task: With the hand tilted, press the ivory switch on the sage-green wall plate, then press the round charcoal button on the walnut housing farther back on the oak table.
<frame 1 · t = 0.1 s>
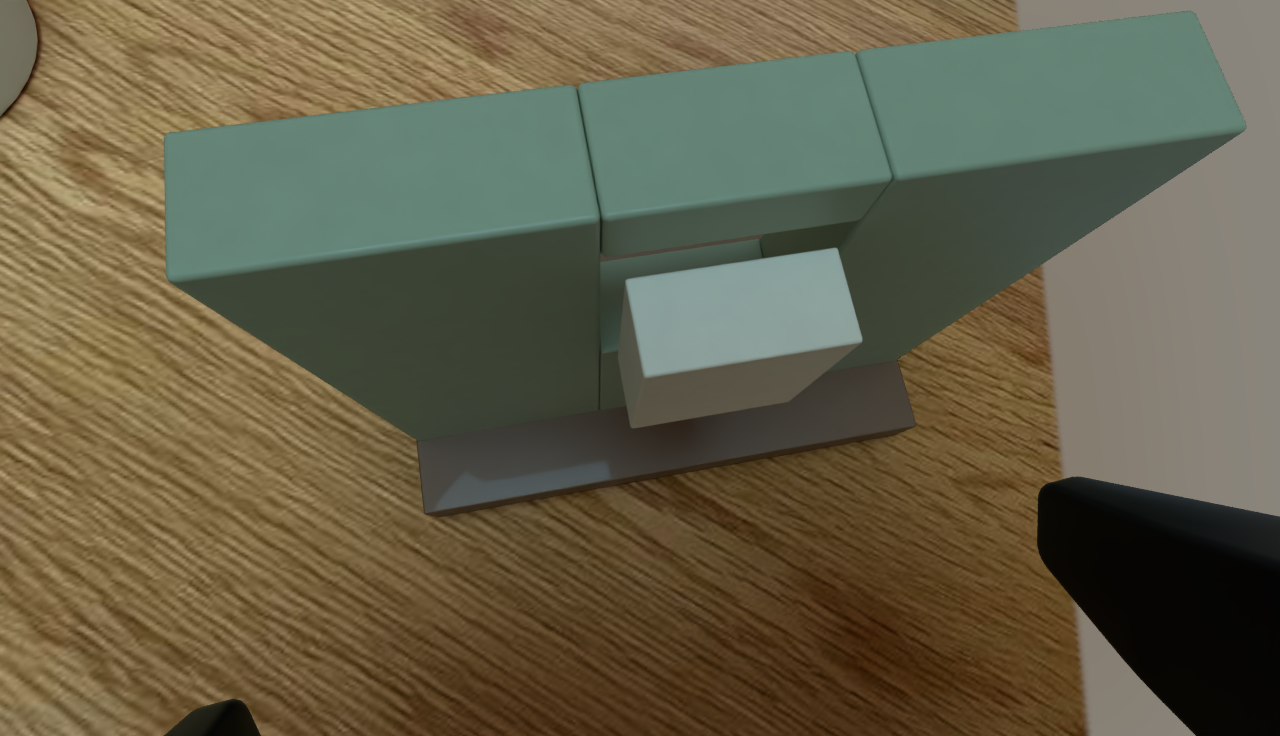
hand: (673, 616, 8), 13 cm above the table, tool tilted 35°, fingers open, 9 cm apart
switch: (720, 349, 12), point 9 cm above the table, slide at -0.2 cm
wall plate: (661, 409, 21), on the table
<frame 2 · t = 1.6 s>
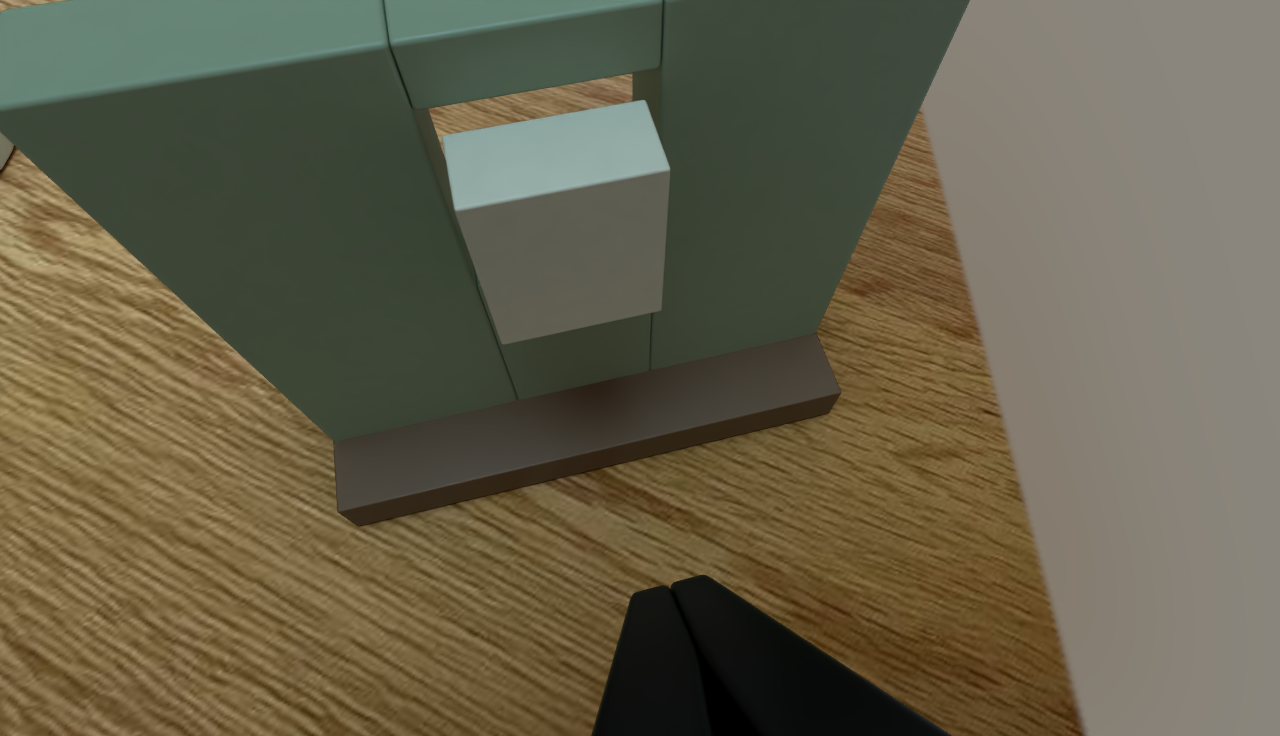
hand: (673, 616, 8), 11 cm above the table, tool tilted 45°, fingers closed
switch: (566, 234, 12), point 10 cm above the table, slide at -0.2 cm
wall plate: (588, 406, 21), on the table
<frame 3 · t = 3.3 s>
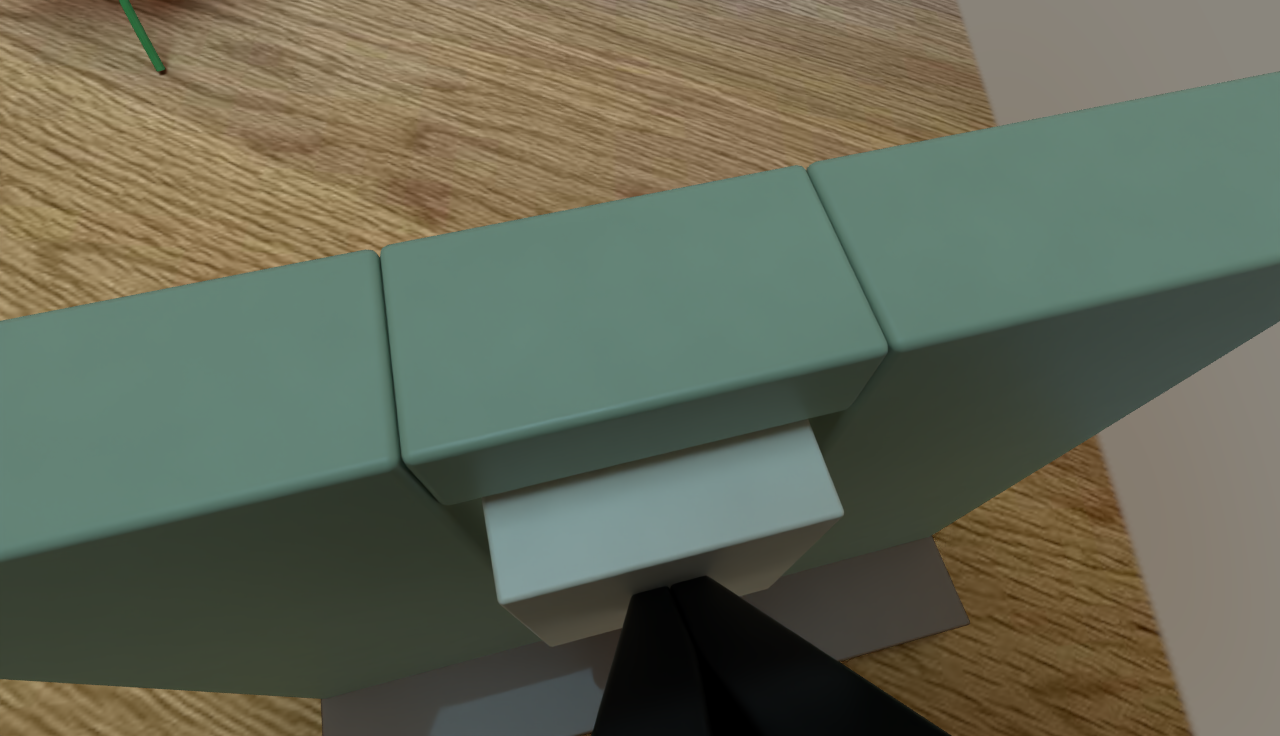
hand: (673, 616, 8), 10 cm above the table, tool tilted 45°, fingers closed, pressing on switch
switch: (651, 531, 8), point 10 cm above the table, slide at 0.7 cm, touching gripper
lily: (170, 3, 27), on the table
wall plate: (642, 622, 17), on the table
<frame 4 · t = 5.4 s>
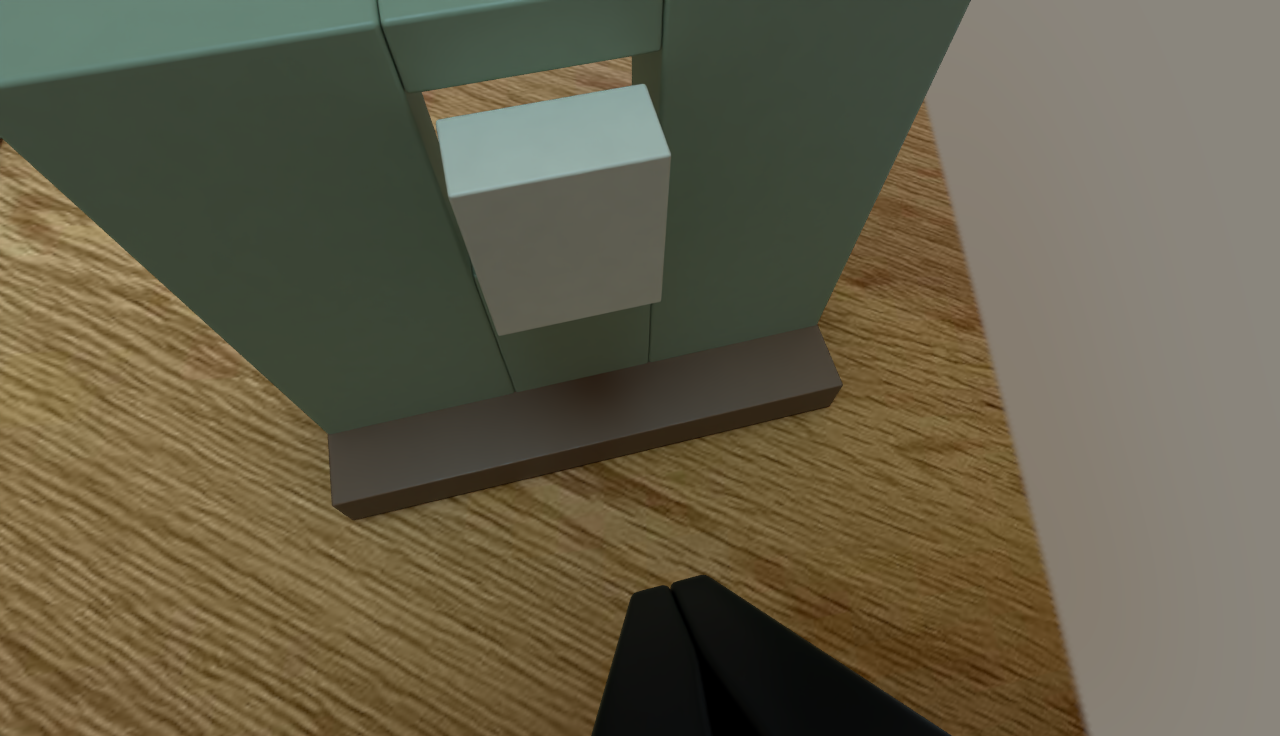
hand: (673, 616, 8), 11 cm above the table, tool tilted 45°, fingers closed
switch: (564, 223, 12), point 9 cm above the table, slide at -0.2 cm
wall plate: (586, 399, 21), on the table
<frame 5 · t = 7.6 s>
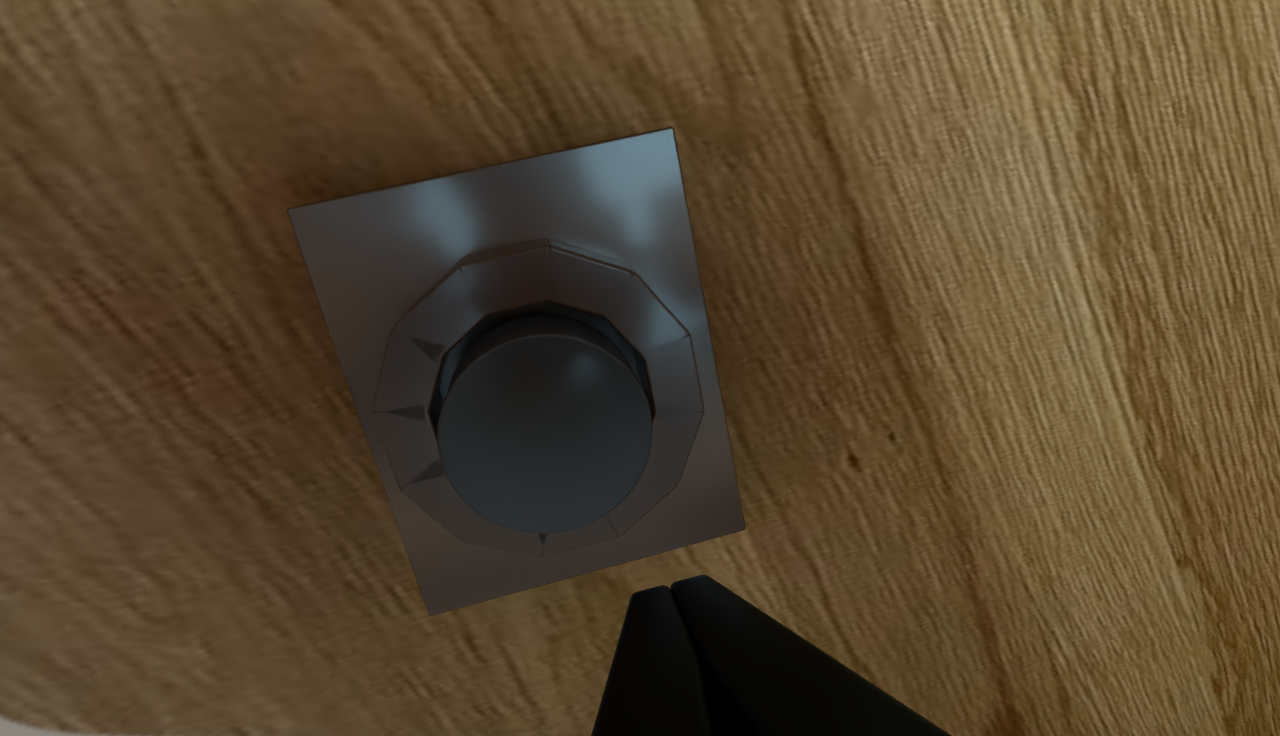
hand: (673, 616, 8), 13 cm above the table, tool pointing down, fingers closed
button: (546, 421, 15), point 5 cm above the table, slide at 0.1 cm
button box: (540, 365, 20), on the table
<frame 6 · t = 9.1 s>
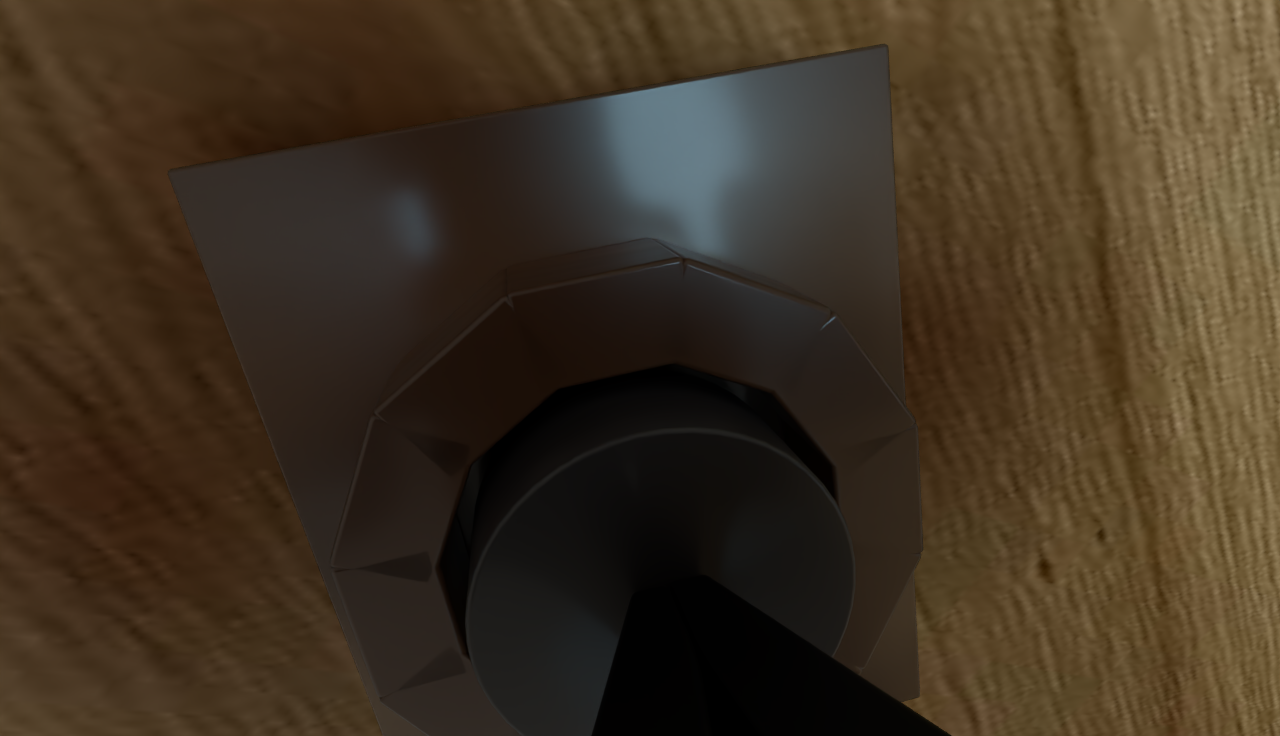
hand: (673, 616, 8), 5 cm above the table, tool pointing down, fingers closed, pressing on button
button: (652, 562, 9), point 4 cm above the table, slide at -0.5 cm, touching gripper
button box: (607, 435, 12), on the table
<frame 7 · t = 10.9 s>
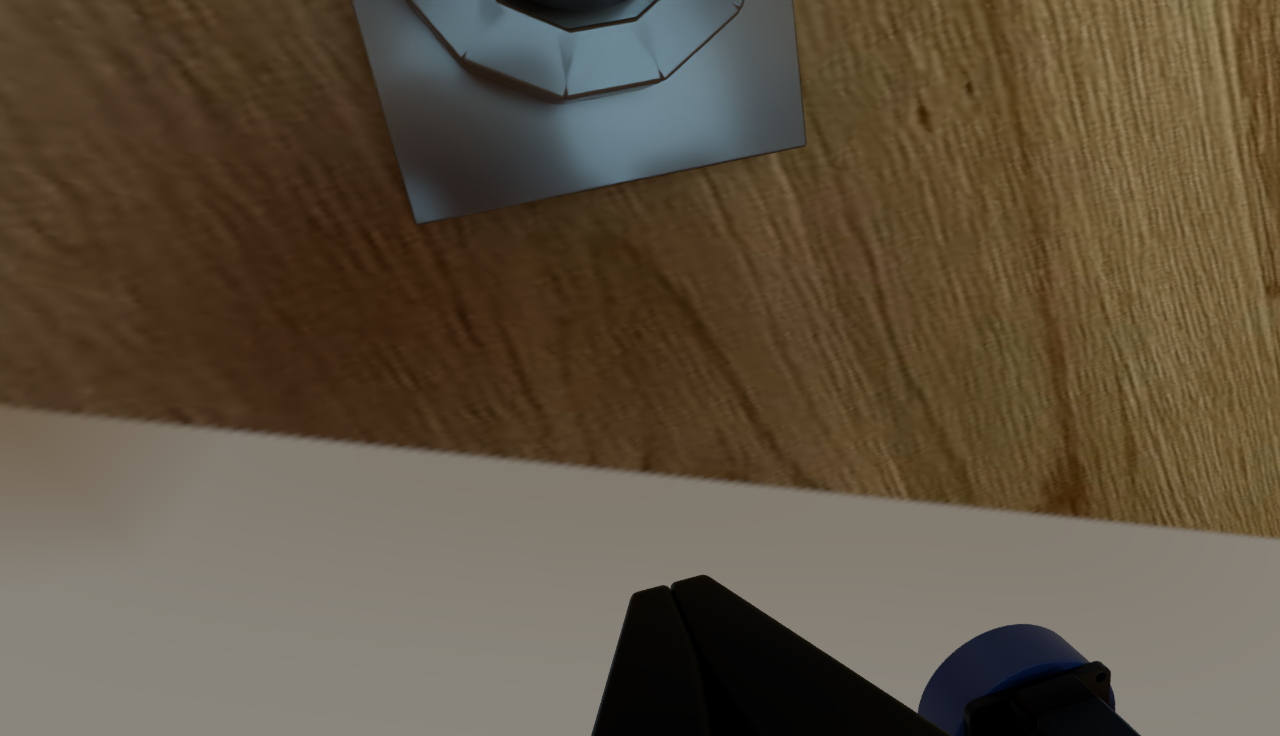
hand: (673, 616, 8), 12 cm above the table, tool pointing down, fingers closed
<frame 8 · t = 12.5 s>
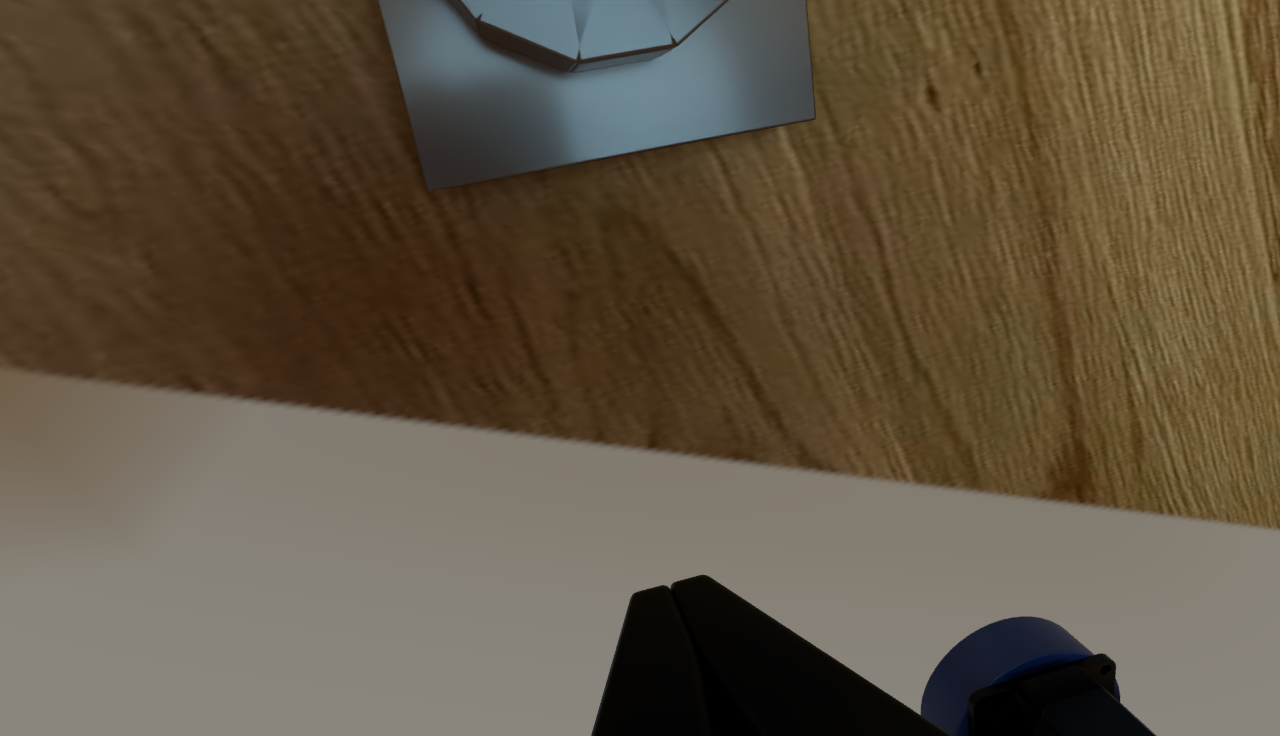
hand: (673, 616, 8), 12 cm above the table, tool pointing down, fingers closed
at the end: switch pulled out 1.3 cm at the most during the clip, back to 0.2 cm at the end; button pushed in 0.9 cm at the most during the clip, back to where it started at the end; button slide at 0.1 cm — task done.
